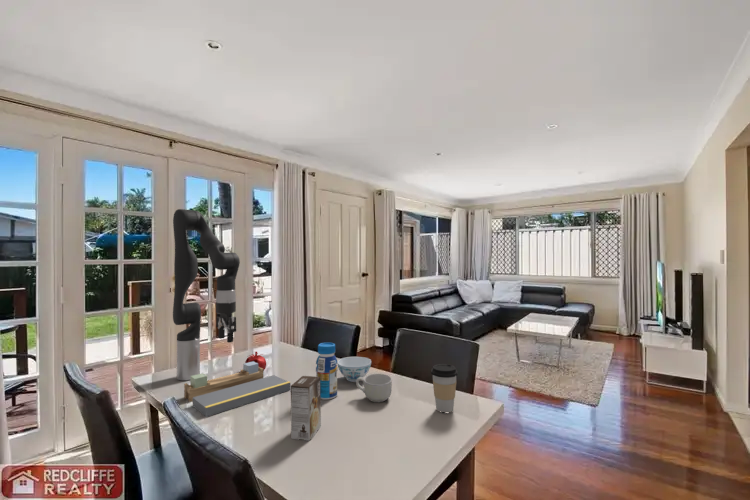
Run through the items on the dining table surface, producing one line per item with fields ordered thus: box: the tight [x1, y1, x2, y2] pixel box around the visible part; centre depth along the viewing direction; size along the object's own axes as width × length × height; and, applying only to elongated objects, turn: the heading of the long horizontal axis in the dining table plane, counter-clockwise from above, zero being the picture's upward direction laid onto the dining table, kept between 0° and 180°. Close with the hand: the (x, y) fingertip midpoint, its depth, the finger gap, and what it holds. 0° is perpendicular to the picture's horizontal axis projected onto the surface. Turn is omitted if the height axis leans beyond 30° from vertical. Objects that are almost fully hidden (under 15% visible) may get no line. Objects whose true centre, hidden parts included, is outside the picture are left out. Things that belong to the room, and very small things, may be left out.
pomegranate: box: [244, 351, 267, 371], centre depth 169 cm, size 10×10×9 cm
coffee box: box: [290, 375, 322, 441], centre depth 110 cm, size 9×6×16 cm
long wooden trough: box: [183, 367, 264, 403], centre depth 147 cm, size 6×30×6 cm, turn 136°
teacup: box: [355, 373, 393, 403], centre depth 136 cm, size 14×11×8 cm
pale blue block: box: [242, 361, 258, 374], centre depth 154 cm, size 5×5×4 cm
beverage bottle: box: [315, 342, 339, 401], centre depth 139 cm, size 8×8×20 cm
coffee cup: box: [430, 363, 459, 413], centre depth 126 cm, size 9×9×15 cm
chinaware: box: [336, 356, 372, 383], centre depth 157 cm, size 15×15×8 cm
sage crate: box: [189, 372, 208, 388], centre depth 139 cm, size 5×5×4 cm
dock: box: [192, 374, 291, 418], centre depth 138 cm, size 13×33×3 cm, turn 136°
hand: (225, 340), depth 147 cm, fingers open, 8 cm apart
